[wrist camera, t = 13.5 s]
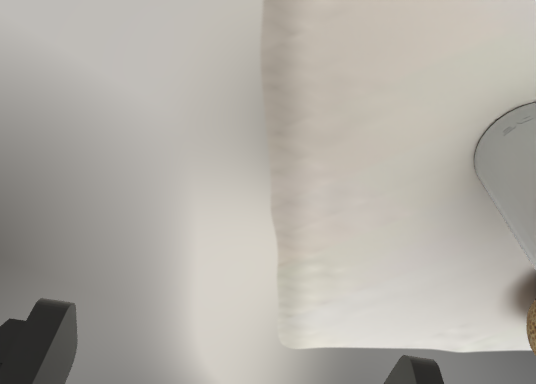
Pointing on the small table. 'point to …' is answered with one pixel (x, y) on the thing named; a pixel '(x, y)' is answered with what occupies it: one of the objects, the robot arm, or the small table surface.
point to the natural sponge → (532, 326)
